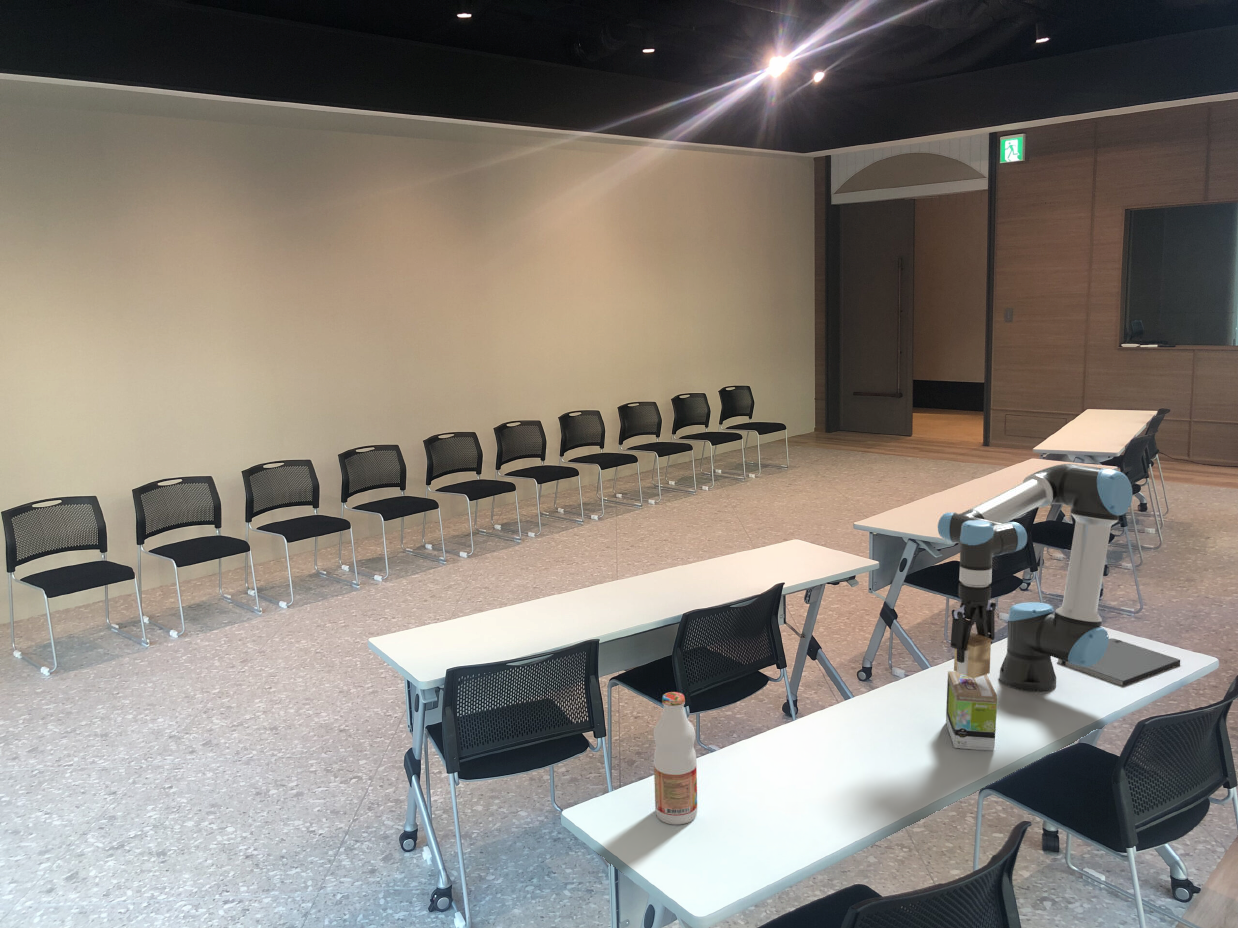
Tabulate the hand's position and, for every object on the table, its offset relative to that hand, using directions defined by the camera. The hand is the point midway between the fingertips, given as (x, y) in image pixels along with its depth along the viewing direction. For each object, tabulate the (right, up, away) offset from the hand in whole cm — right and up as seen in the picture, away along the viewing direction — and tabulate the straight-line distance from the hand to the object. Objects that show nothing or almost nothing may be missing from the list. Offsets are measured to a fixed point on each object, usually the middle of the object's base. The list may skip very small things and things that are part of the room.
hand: (971, 670), depth 232 cm
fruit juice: (-77, -26, -28) cm, 85 cm away
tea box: (+1, -18, +3) cm, 18 cm away
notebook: (+61, -9, +45) cm, 77 cm away
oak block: (0, 0, 0) cm, 0 cm away
